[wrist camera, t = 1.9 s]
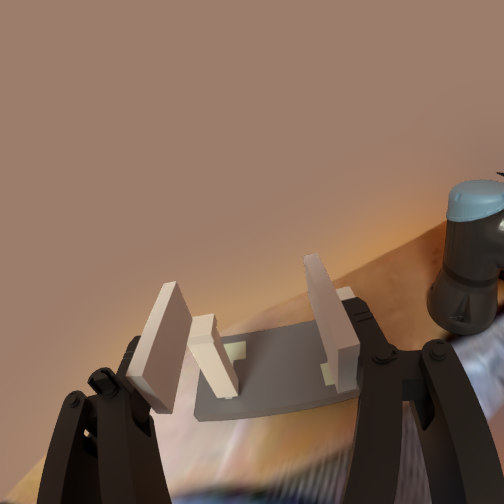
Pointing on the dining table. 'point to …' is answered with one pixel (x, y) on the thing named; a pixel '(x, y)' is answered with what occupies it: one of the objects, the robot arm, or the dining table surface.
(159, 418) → the dining table surface
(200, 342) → the lever
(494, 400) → the dining table surface
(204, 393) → the switch panel
